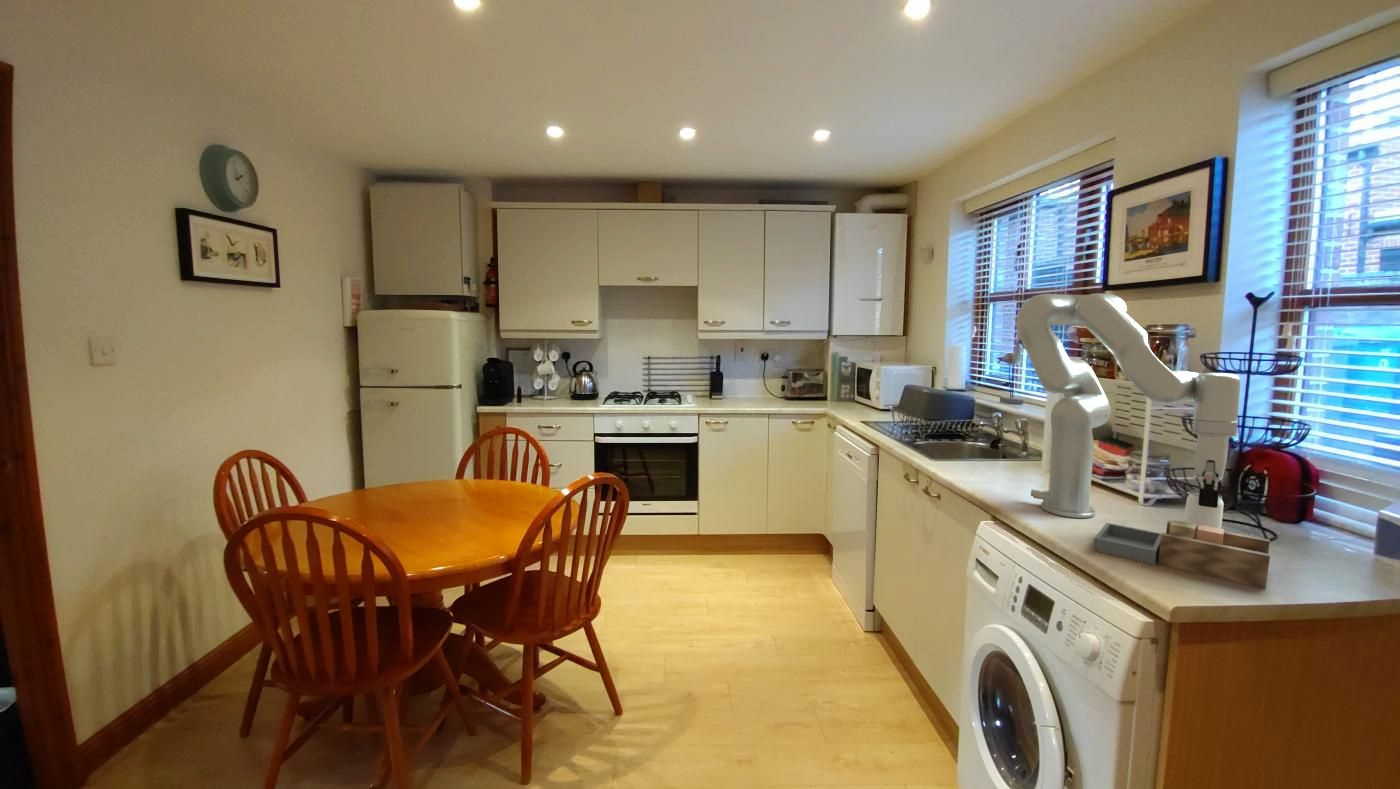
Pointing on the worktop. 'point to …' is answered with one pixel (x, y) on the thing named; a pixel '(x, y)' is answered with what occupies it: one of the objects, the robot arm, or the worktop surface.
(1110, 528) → the tray
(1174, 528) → the maple block
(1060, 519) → the worktop surface
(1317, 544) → the worktop surface
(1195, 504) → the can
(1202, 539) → the terracotta block
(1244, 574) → the slot block
